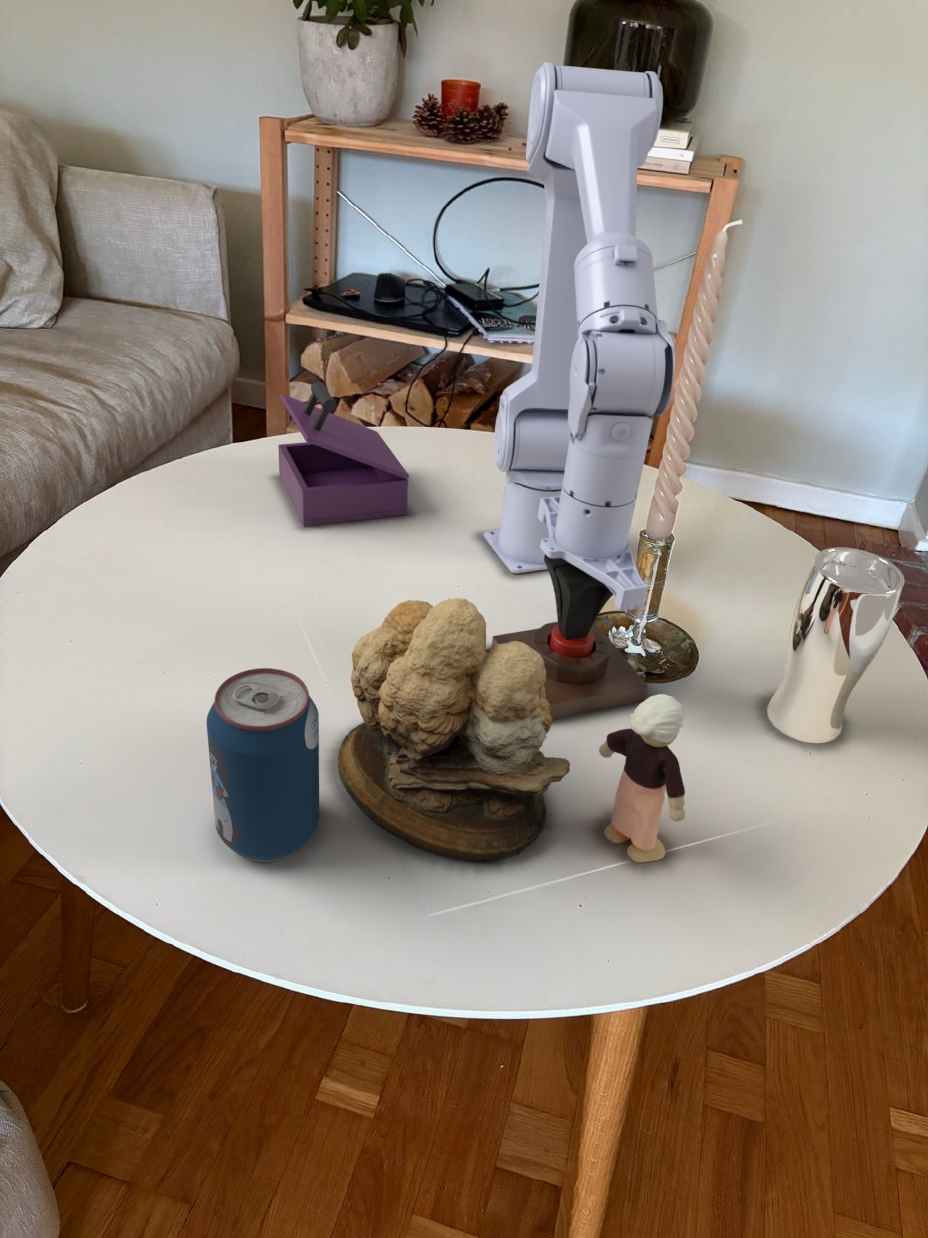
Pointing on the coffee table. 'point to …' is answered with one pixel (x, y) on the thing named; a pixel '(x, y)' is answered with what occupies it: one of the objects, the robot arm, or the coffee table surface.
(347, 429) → the purple flat piece
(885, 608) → the beer glass
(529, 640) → the button block
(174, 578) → the coffee table surface
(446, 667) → the tan rock sculpture
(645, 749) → the grandmother figurine
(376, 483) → the box
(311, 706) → the soda can
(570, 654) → the button
